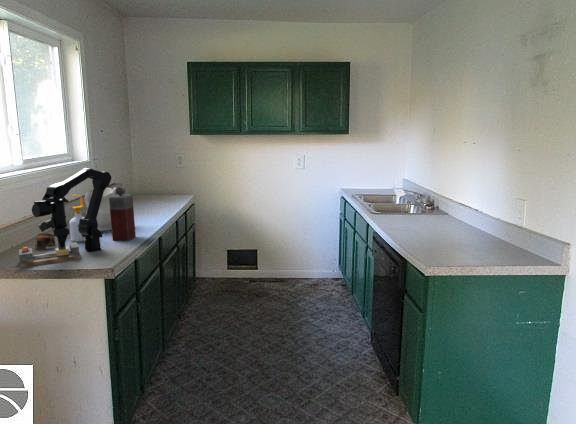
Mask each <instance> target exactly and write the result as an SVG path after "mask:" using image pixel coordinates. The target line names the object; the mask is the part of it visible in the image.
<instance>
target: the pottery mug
mask: <svg viewBox="0 0 576 424" xmlns="http://www.w3.org/2000/svg"><path fill="white" fill-rule="evenodd" d="M35 240H36V244H34V249H35V250H37V249H38V250H46V248H47V247H48V248H51V247H52V246H54V245H56V238H55V236H54V234H51V233H47V232H42V233H38V234H37V237H36V238H35Z"/></svg>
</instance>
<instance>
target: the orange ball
mask: <svg viewBox="0 0 576 424" xmlns="http://www.w3.org/2000/svg"><path fill="white" fill-rule="evenodd" d="M28 248H29V247H28V246H24V247H22V248H21V249H22V252H29V250H28Z"/></svg>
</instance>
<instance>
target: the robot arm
mask: <svg viewBox="0 0 576 424" xmlns="http://www.w3.org/2000/svg"><path fill="white" fill-rule="evenodd" d="M87 179H90V180H92V187H93V189H92V191H93V192H92V196H91V197H90V198H89V207H88V208H87V211H86V213H87V214H86V213H85V218H84V219H80V221H79V225H78V227H79V228H78V231H79V232H80V234H81V235H82V237H85V241H83V244H84V246H83V247H84V250H86V252H94V251H101V250H102V247H101V238H102V237H103V231H100V230H98V222H97V215H98V211H99V208H100V204H101V200H102V197H103V193H104V190H105V189H106V188H109V185H110V183H111V181H112V175H111V174H110V172H108V171H100V170H96V169H92V168H90V167H88V168H87V167H84V168H82V169H81V170H79V171H78V172H77V173H75V174H73V175H71V176H70V177H68V178H66V179H65V180H63V181H59V182H57V183H56V182H55V183H53V184H51V185H48V187H46V190H45V193H44V195H43V197H42V199H41V200H35V201H33V205H31V213H32V214H33V216H34V217H35V218H39V217H40V218H41V217H46V216H49V215H50V218H49V219H46V220H44V221H42V222H39V223H38V224H37V227H38V228H39V230H40V231H41V232H42V233H44V232H45V231H46V230H48V229H51V230H52V233H53V234H52V235H54V237H56V238H58V240H59V243H60V246H61V248H62V247H64V245H65V246H66V242H67V238H68V236H69V235H71V233H70V228H69V227H68V223H67V215H66V207H65V203H68V202H69V200H68V199H67V198H66V197H65V196H67V195H68V194H69V192H70V191H71V190H72V189H73V188H74V187H76V186H78V185H80V184H81V183H82V182H84V181H86V180H87ZM58 240H57V241H58Z"/></svg>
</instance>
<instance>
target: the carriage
mask: <svg viewBox="0 0 576 424" xmlns="http://www.w3.org/2000/svg"><path fill="white" fill-rule="evenodd" d="M56 239H57V246H58V247H56V248H55V252H57V256H62V255H69V251H70V248H69V247H68V246H66V244H65V245H64V247H62V248H61V246H60V243H59V240H58V237H56Z"/></svg>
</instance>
